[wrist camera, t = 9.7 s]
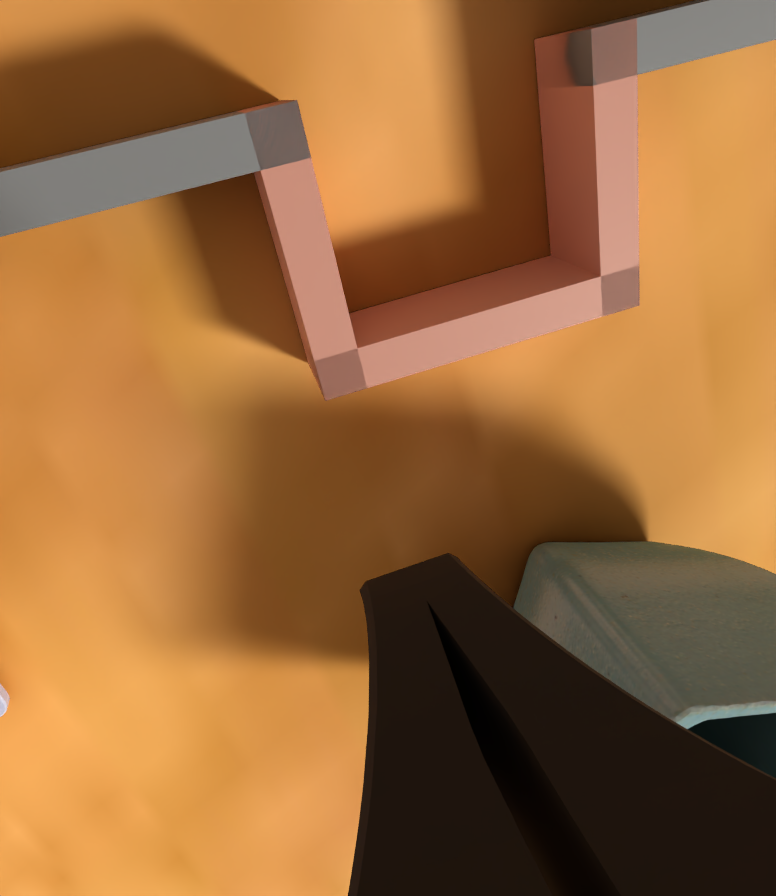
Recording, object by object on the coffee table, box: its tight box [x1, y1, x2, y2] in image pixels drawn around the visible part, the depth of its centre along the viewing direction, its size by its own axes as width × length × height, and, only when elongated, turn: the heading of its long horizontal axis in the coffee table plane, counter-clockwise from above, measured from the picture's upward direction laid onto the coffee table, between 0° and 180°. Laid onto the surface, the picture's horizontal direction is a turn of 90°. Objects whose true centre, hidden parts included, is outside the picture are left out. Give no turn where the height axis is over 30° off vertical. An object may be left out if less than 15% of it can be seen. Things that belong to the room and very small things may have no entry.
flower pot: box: [513, 541, 776, 778], centre depth 20 cm, size 9×9×9 cm
